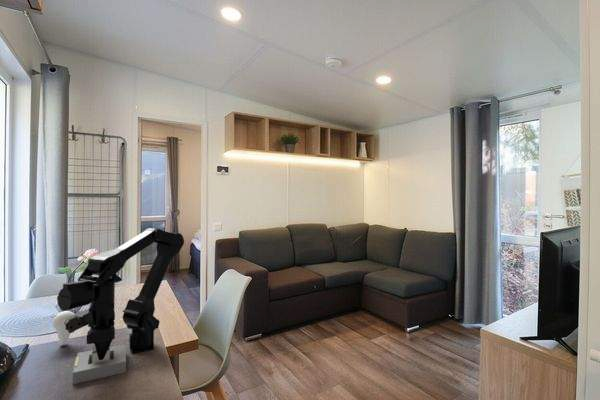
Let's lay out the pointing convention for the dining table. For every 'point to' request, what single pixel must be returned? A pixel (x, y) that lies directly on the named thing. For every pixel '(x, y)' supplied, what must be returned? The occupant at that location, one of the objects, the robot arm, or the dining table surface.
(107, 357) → the plug
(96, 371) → the socket
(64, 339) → the lightbulb
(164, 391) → the dining table surface
